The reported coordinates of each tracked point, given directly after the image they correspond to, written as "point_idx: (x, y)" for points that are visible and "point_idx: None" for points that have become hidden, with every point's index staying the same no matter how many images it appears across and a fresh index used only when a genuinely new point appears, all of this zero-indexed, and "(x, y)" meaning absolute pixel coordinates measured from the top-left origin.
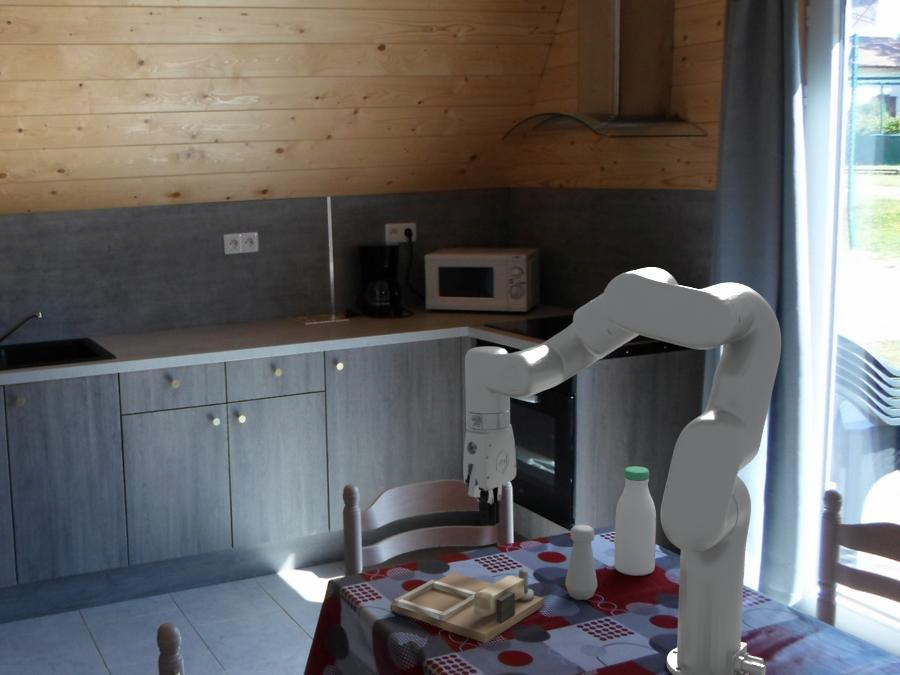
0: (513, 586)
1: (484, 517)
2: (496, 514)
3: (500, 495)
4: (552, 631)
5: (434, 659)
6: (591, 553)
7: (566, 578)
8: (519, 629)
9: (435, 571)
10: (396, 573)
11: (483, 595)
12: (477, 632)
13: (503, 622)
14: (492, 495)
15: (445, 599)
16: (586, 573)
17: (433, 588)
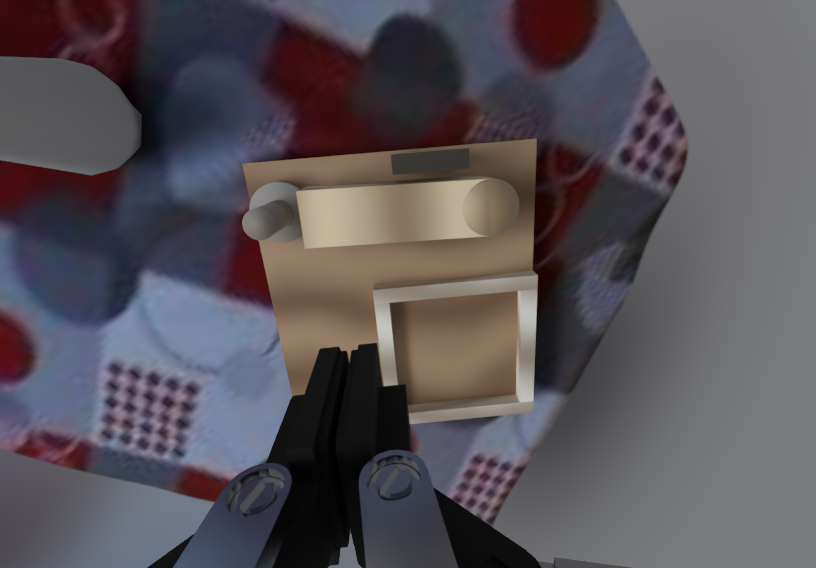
0: (360, 186)
1: (408, 414)
2: (340, 381)
3: (227, 504)
4: (358, 35)
5: (663, 178)
6: None
7: (113, 153)
8: (409, 121)
9: None
10: None
11: (489, 207)
12: (534, 166)
13: (448, 148)
14: (378, 523)
15: (432, 346)
16: (50, 67)
17: None
